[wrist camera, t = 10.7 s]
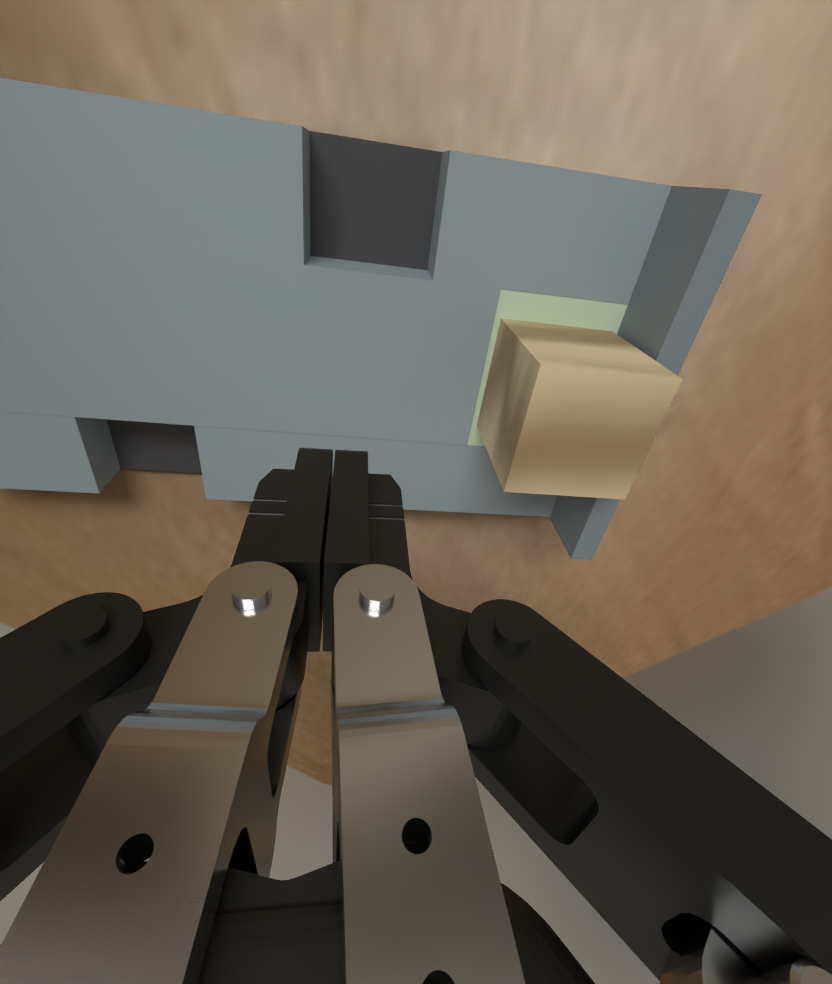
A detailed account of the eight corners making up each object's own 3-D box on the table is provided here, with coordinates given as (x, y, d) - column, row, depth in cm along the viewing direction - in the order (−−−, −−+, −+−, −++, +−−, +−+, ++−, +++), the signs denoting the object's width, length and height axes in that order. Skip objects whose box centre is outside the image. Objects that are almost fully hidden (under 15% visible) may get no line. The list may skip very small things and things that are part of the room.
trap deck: (-209, 48, 13) (-492, -11, 9) (662, 188, 17) (761, 194, 13) (-15, 456, 21) (-116, 531, 17) (553, 491, 25) (591, 559, 21)
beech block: (500, 318, 17) (540, 364, 13) (612, 330, 18) (682, 379, 14) (476, 425, 20) (503, 492, 16) (574, 433, 20) (625, 499, 16)
